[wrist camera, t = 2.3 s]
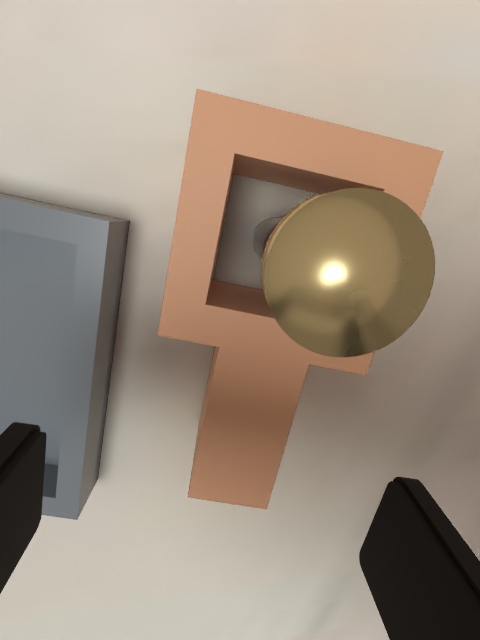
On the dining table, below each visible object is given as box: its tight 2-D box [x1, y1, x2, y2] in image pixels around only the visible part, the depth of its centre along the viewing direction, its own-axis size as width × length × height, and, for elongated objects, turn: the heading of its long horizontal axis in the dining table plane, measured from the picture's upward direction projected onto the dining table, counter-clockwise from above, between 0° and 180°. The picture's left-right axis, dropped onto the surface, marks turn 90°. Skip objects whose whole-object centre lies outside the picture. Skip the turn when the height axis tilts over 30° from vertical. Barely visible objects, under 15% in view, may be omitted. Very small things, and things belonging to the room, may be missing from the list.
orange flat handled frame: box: [158, 89, 443, 509], centre depth 13 cm, size 7×13×4 cm, turn 168°
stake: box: [252, 188, 435, 357], centre depth 10 cm, size 3×3×10 cm
